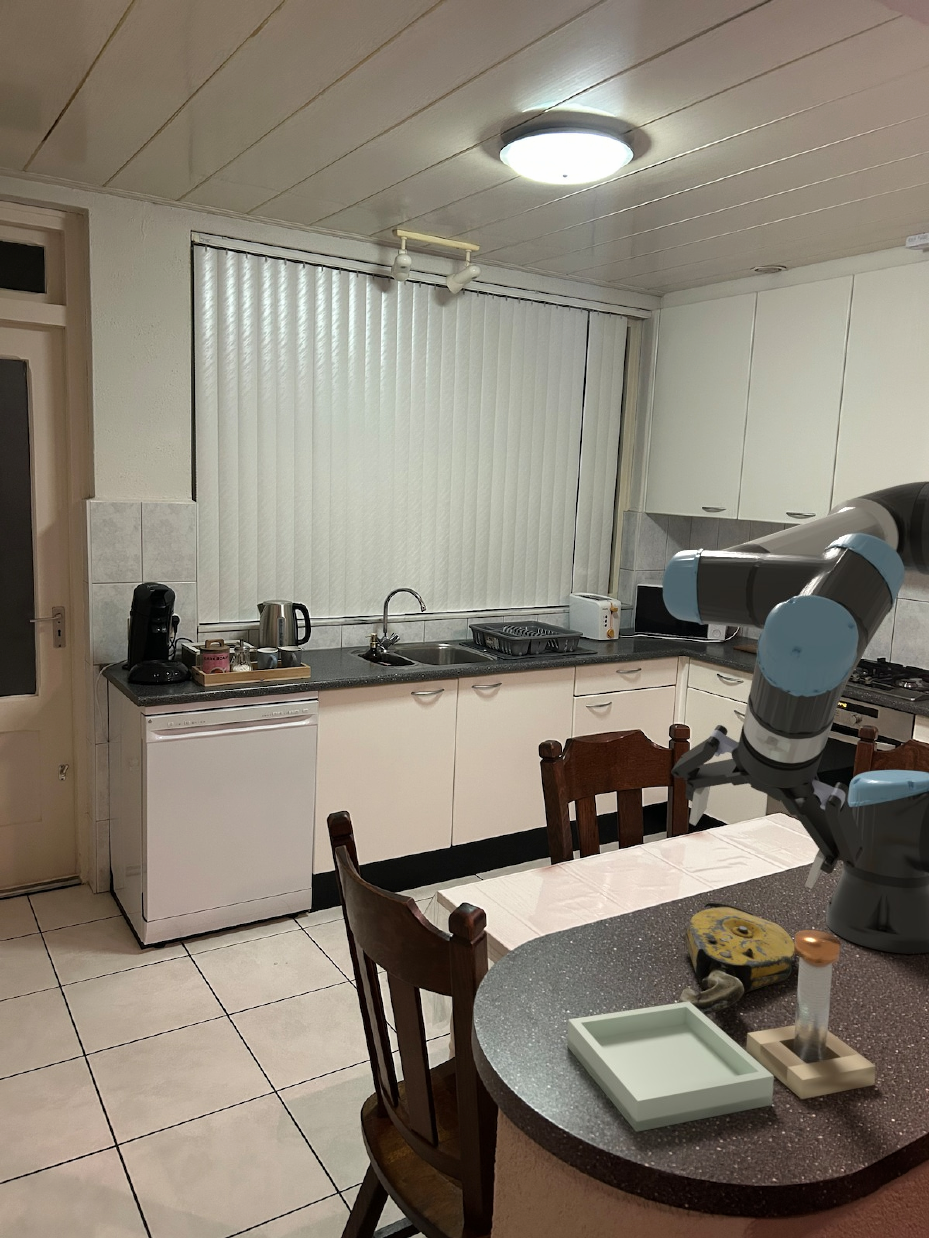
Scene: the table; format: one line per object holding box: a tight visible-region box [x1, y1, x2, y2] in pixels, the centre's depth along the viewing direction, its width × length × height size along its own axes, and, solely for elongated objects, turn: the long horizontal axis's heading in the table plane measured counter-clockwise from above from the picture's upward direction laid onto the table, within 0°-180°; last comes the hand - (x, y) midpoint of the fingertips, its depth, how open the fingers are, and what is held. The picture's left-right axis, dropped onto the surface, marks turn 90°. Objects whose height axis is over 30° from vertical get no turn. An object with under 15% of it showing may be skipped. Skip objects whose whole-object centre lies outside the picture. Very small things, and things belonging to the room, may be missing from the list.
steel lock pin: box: [793, 929, 841, 1064], centre depth 97 cm, size 4×4×14 cm
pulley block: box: [678, 902, 796, 1016], centre depth 117 cm, size 14×6×30 cm
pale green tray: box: [566, 1002, 775, 1133], centre depth 95 cm, size 15×15×3 cm
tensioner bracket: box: [745, 1024, 876, 1100], centre depth 97 cm, size 9×9×2 cm
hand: (753, 845), depth 102 cm, fingers open, 13 cm apart
